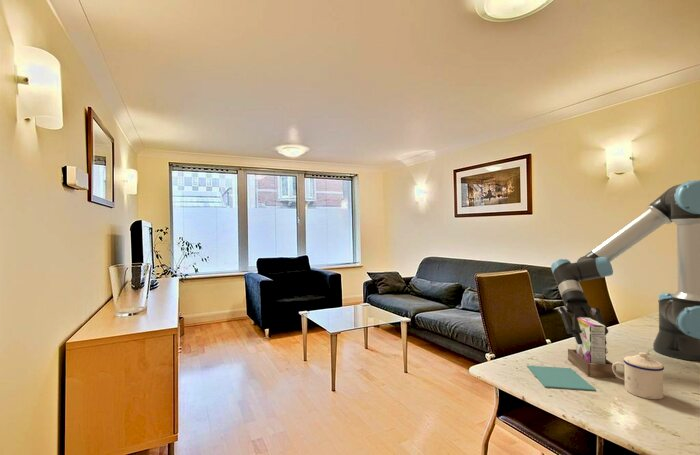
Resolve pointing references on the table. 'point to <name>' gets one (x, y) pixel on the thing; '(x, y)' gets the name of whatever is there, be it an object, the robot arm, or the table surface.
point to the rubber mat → (560, 378)
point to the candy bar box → (592, 340)
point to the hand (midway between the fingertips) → (595, 353)
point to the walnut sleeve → (591, 366)
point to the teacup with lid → (642, 376)
